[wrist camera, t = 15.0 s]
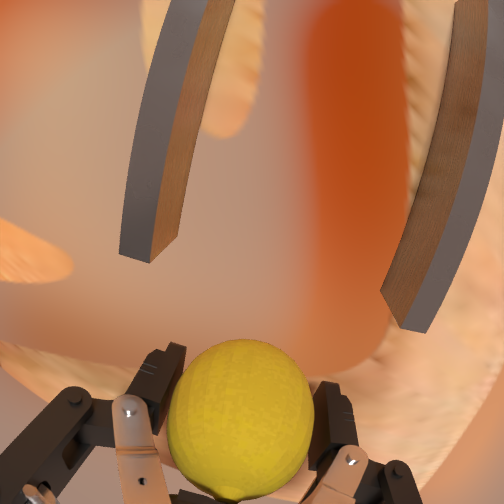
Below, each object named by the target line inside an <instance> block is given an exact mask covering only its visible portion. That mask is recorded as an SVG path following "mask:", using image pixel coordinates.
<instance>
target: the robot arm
mask: <svg viewBox="0 0 504 504" xmlns="http://www.w3.org/2000/svg"><path fill="white" fill-rule="evenodd" d="M185 355H186V346H182V345H179V344H176V343H173V342H170V343H169V345H168V347H167V349H166V351H165V352H164V351H161V350H158V349H156V350H154V351H153V352H151V353H149V354H148V356H147V357H146V359H145V361H144V363H143V364H142V366H141V367H140V370H139V371H138V372H137V374H136V376H135V377H134V379H133V381H132V383H131V384H130V386H129V388H128V390H127V391H126V393H125V394H124V395H121V396H119V397H117V398H116V399H115V400H101V399H94V398H91V395H90V394H89V392H88V391H86V390H85V389H83V388H81V387H76V386H72V387H67V388H65V389H63V390H62V391H61V392H60V393H59V394H58V395H57V396H56V397H55V398H54V399H53V400H52V401H51V402H50V403H49V404H48V405H47V406H46V407H45V409H43V411H42V412H41V413H40V414H39V415H38V416H37V417H36V418H35V419H34V420H33V421H32V422H31V423H30V424H29V425H28V426H27V427H26V428H25V429H24V430H23V431H22V432H21V433H20V434H19V436H18V437H17V438H16V439H15V440H14V441H13V442H12V443H11V444H10V445H9V446H8V447H7V448H6V450H4V452H3V453H2V454H1V455H0V504H60V503H59V501H58V500H57V499H56V498H57V497H58V496H59V494H60V493H61V491H62V490H63V489H64V488H65V486H66V485H67V484H68V482H69V481H70V480H71V478H72V477H73V476H74V474H75V473H76V472H77V470H78V469H79V467H80V466H81V465H82V463H83V462H84V461H85V459H86V458H87V457H88V455H89V454H90V453H91V451H92V450H93V449H94V447H95V446H103V447H112V448H116V456H117V464H118V471H119V477H120V483H121V490H122V494H123V501H124V504H223V503H220V502H218V501H216V500H214V499H211V498H209V497H207V496H204V495H200V494H196V493H192V492H188V491H185V490H181V489H180V490H179V494H178V495H177V494H176V495H175V494H168V490H167V486H166V483H165V479H164V475H163V471H162V467H161V462H160V458H159V454H158V451H157V449H156V448H155V445H154V440H153V435H152V434H154V435H157V436H158V434H159V431H160V429H161V426H162V424H163V421H164V419H165V417H166V414H167V412H168V409H169V407H170V403H171V399H172V395H173V392H174V389H175V387H176V384H177V382H178V380H179V379H180V377H181V375H182V373H183V367H184V361H185ZM312 399H313V404H314V424H313V431H312V437H311V442H310V446H309V450H308V470H312V471H317V476H316V477H315V479H314V480H313V481H312V483H311V485H310V486H309V488H308V489H307V491H306V492H305V494H304V495H303V497H302V498H301V500H300V501H299V503H298V504H423V503H422V500H421V497H420V495H419V492H418V489H417V486H416V483H415V480H414V478H413V475H412V472H411V470H410V468H409V466H408V465H407V464H405V463H404V462H402V461H399V460H392V461H390V462H388V463H387V464H386V465H384V464H381V463H378V462H375V461H372V460H370V459H368V456H367V454H366V452H365V451H364V450H363V449H362V448H360V447H359V444H358V438H357V432H356V426H355V422H354V415H353V409H352V404H351V402H350V401H349V399H348V398H347V396H345V395H341V393H340V387H339V384H338V383H333V382H327V381H322V382H321V383H320V385H319V387H318V389H317V391H316V392H315V394H314V396H313V398H312Z"/></svg>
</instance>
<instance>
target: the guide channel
mask: <svg viewBox="0 0 504 504" xmlns="http://www.w3.org/2000/svg"><path fill="white" fill-rule="evenodd" d="M234 2H235V0H171V3H170V6H169V8H168V11H167V14H166V17H165V20H164V23H163V26H162V29H161V32H160V36H159V39H158V42H157V45H156V49H155V52H154V56H153V59H152V63H151V66H150V70H149V74H148V78H147V82H146V86H145V90H144V94H143V99H142V102H141V107H140V111H139V117H138V121H137V125H136V130H135V136H134V141H133V147H132V152H131V158H130V164H129V170H128V176H127V183H126V191H125V199H124V206H123V214H122V224H121V234H120V245H119V254H120V255H124V256H127V257H130V258H133V259H137V260H140V261H143V262H146V263H150V262H152V261H153V260H154V259H155V257H157V256H158V255H159V254H160V253H161V252H162V250H164V249H165V248H166V247H167V246H168V245H169V244H170V243H171V242H172V241H173V240H174V239H175V238H176V237H177V235H178V229H179V223H180V218H181V212H182V207H183V202H184V196H185V191H186V186H187V181H188V176H189V171H190V166H191V161H192V157H193V153H194V148H195V144H196V139H197V135H198V130H199V126H200V122H201V118H202V114H203V110H204V106H205V102H206V98H207V94H208V90H209V86H210V82H211V79H212V75H213V71H214V68H215V64H216V60H217V57H218V53H219V50H220V47H221V43H222V40H223V36H224V33H225V30H226V27H227V23H228V20H229V17H230V14H231V11H232V8H233V5H234ZM503 119H504V0H458V1H457V2H455V14H454V25H453V34H452V42H451V50H450V57H449V63H448V69H447V75H446V81H445V86H444V91H443V96H442V101H441V106H440V111H439V115H438V119H437V124H436V128H435V132H434V136H433V140H432V144H431V147H430V151H429V155H428V158H427V162H426V165H425V169H424V172H423V176H422V179H421V182H420V185H419V189H418V192H417V195H416V198H415V201H414V204H413V207H412V210H411V213H410V216H409V218H408V221H407V224H406V227H405V230H404V232H403V235H402V238H401V240H400V243H399V246H398V248H397V251H396V253H395V256H394V258H393V261H392V264H391V266H390V268H389V271H388V273H387V275H386V278H385V280H384V282H383V285H382V287H381V289H380V292H381V293H382V295H383V297H384V299H385V301H386V302H387V304H388V306H389V308H390V310H391V312H392V314H393V316H394V317H395V319H396V321H397V323H398V325H399V327H400V328H401V329H406V330H410V331H415V332H420V333H425V334H426V332H427V330H428V329H429V327H430V325H431V323H432V321H433V319H434V317H435V315H436V314H437V312H438V310H439V308H440V306H441V304H442V302H443V300H444V298H445V296H446V293H447V291H448V289H449V287H450V285H451V283H452V281H453V278H454V276H455V274H456V272H457V269H458V267H459V265H460V262H461V260H462V258H463V255H464V253H465V250H466V248H467V245H468V243H469V240H470V238H471V235H472V232H473V230H474V227H475V224H476V221H477V218H478V215H479V212H480V209H481V206H482V203H483V200H484V197H485V194H486V190H487V187H488V184H489V180H490V177H491V173H492V169H493V165H494V161H495V157H496V153H497V149H498V144H499V140H500V135H501V130H502V125H503Z"/></svg>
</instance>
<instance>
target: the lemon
mask: <svg viewBox="0 0 504 504" xmlns="http://www.w3.org/2000/svg"><path fill="white" fill-rule="evenodd" d="M313 424H314V404H313V399H312V395H311V392H310V388H309V385H308V382H307V379H306V377H305V375H304V374H303V372H302V371H301V370H300V368H299V367H298V365H297V364H296V363H295V361H294V360H293V359H292V358H290V357H289V356H288V355H287V354H286V353H284V352H283V351H282V350H281V349H278V348H276V347H275V346H273V345H271V344H268V343H265V342H261V341H257V340H249V339H238V340H229V341H225V342H223V343H220V344H217V345H214V346H212V347H211V348H209V349H207V350H206V351H204V352H203V353H202V354H200V355H199V356H197V357H196V358H195V359H194V360H193V361H192V362H191V364H190V365H189V366H188V368H187V369H186V370H185V371H184V373H183V374H182V375H181V377H180V379H179V380H178V382H177V384H176V387H175V389H174V392H173V395H172V399H171V403H170V407H169V411H168V418H167V439H168V445H169V450H170V454H171V456H172V459H173V461H174V463H175V464H176V466H177V468H178V469H179V470H180V472H181V473H182V475H184V476H185V478H186V479H187V480H188V481H189V482H191V483H192V484H193V485H194V486H195V487H197V488H198V489H200V490H201V491H203V492H205V493H207V494H209V495H211V496H213V497H214V499H215V500H216V501H218V502H220V503H223V504H238V503H239V502H241V501H242V500H243V501H244V500H251V499H257V498H260V497H262V496H265V495H268V494H271V493H272V492H274V491H276V490H278V489H279V488H281V487H282V486H284V485H285V484H286V483H287V482H289V481H290V480H291V479H292V478H293V476H294V475H295V474H296V473H297V471H298V470H299V468H300V467H301V465H302V464H303V462H304V460H305V458H306V455H307V453H308V450H309V446H310V442H311V437H312V431H313Z"/></svg>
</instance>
